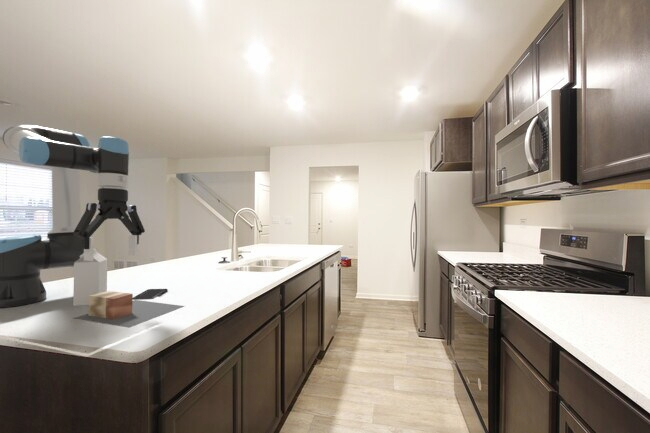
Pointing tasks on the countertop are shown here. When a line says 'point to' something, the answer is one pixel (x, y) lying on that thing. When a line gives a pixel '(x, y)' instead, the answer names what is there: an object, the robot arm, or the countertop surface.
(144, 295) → the phone
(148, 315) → the mat
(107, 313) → the terracotta wooden block
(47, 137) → the robot arm
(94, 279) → the milk carton
